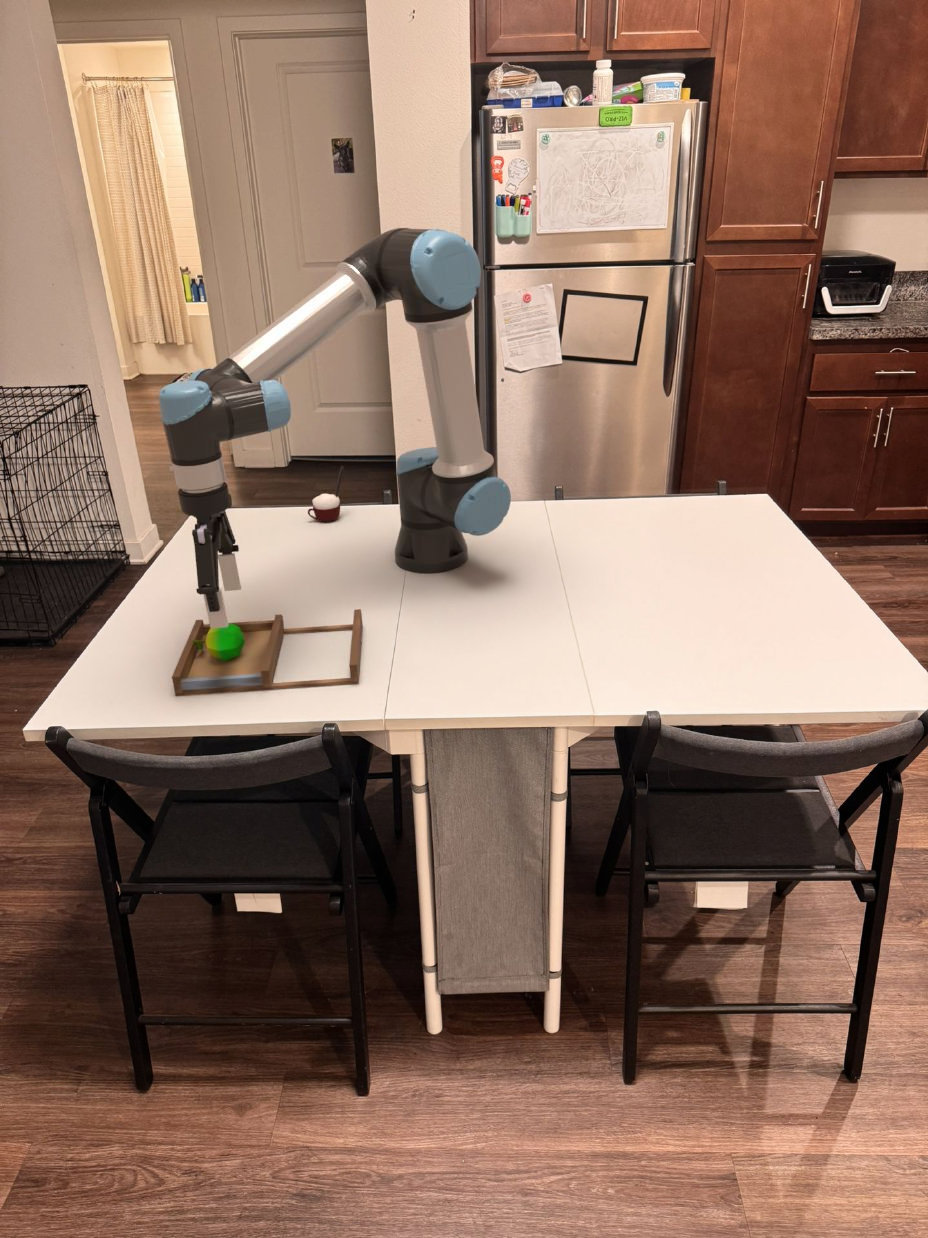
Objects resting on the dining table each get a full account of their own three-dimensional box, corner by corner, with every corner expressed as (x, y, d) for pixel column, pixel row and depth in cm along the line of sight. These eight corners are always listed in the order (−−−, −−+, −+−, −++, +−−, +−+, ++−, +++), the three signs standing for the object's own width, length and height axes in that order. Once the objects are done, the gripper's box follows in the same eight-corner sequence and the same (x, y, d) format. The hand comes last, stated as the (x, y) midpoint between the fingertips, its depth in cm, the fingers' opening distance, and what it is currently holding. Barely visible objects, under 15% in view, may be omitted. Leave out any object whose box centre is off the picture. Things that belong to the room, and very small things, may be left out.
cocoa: (309, 526, 214) (300, 477, 208) (312, 516, 219) (303, 467, 213) (349, 523, 214) (342, 473, 208) (352, 512, 219) (344, 464, 213)
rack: (362, 626, 167) (361, 609, 165) (358, 683, 149) (356, 664, 147) (199, 637, 166) (196, 619, 164) (175, 696, 148) (171, 677, 146)
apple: (241, 615, 154) (187, 617, 154) (238, 651, 151) (183, 653, 151) (251, 631, 160) (199, 632, 160) (249, 665, 158) (196, 667, 158)
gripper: (193, 461, 154) (216, 577, 164) (159, 516, 132) (188, 646, 142) (238, 458, 154) (259, 573, 164) (212, 512, 132) (238, 642, 142)
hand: (226, 607), depth 153 cm, fingers open, 13 cm apart
